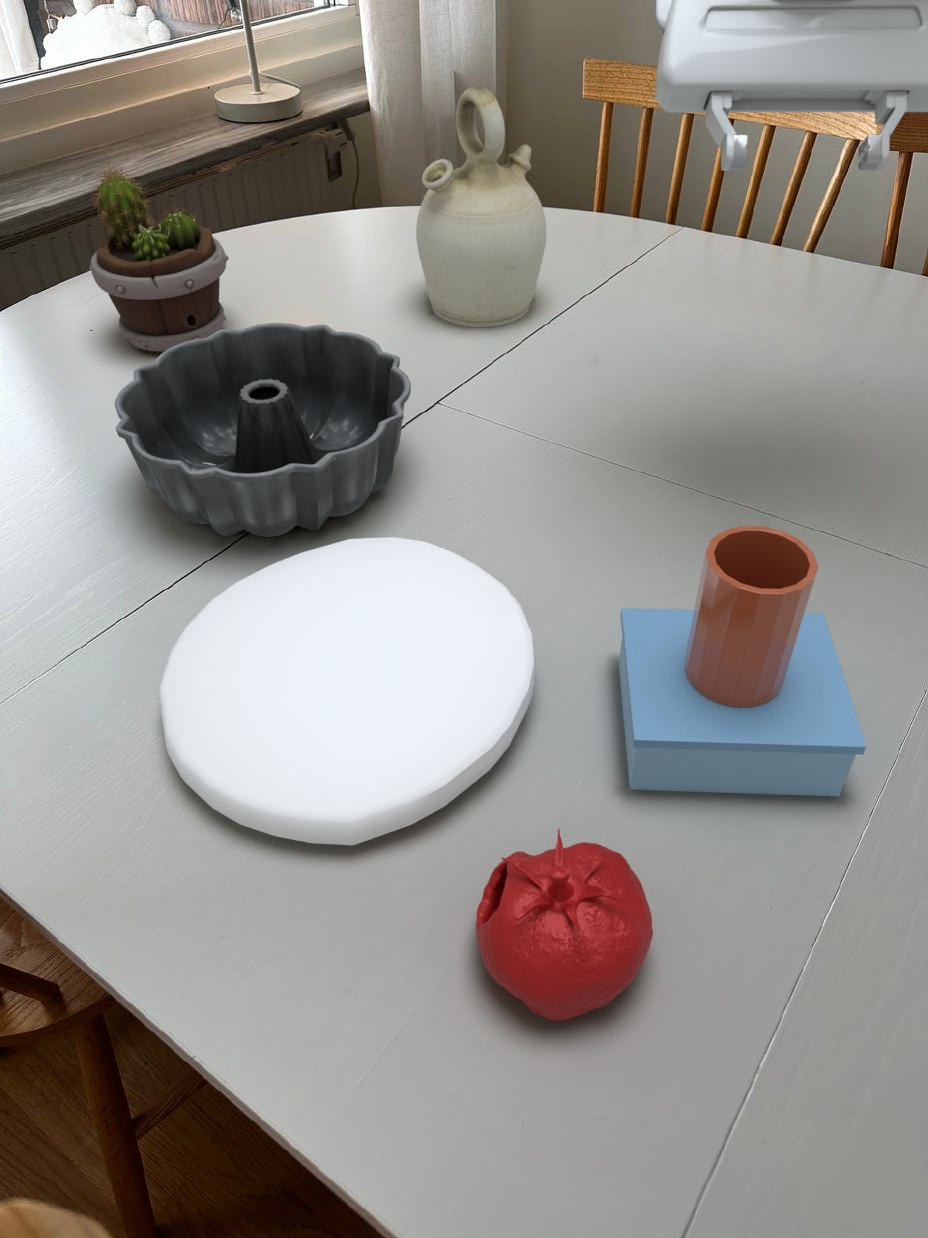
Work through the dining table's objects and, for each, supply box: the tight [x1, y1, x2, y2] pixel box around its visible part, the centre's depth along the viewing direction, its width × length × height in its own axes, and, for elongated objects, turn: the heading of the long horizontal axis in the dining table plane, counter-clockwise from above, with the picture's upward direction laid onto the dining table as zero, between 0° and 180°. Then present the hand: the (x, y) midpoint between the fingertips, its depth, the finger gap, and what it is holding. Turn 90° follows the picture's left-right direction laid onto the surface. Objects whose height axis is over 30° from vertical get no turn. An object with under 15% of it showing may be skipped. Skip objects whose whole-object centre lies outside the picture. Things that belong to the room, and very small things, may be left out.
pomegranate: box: [475, 828, 654, 1021], centre depth 55 cm, size 10×10×9 cm
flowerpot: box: [88, 160, 229, 356], centre depth 110 cm, size 14×15×20 cm
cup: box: [684, 525, 819, 708], centre depth 63 cm, size 7×7×10 cm
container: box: [618, 607, 867, 797], centre depth 69 cm, size 15×13×6 cm
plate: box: [158, 536, 537, 846], centre depth 71 cm, size 28×6×27 cm
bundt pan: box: [114, 322, 412, 538], centre depth 91 cm, size 26×26×10 cm
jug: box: [415, 85, 547, 328], centre depth 113 cm, size 15×16×25 cm
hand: (803, 166), depth 67 cm, fingers open, 8 cm apart
